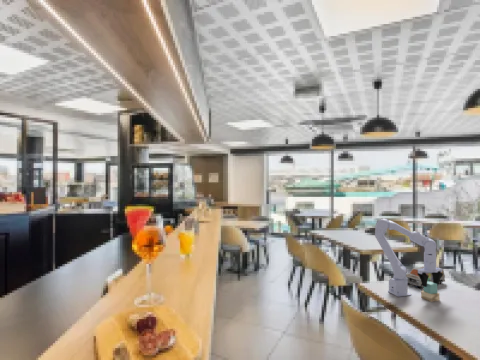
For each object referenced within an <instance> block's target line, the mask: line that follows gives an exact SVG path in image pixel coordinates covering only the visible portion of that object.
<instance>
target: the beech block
mask: <svg viewBox="0 0 480 360" xmlns="http://www.w3.org/2000/svg"><path fill="white" fill-rule="evenodd" d="M420 295H421V296H420V297H421V298H422V299H424V300H425V301H429V302H431V303H432V302H434V303H435V302H438V301H440V299H441V297H440V293H439V292H437V293H435V294H430V293H427V292H425V291H424V290H421V294H420Z"/></svg>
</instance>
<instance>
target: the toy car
mask: <svg viewBox="0 0 480 360" xmlns="http://www.w3.org/2000/svg"><path fill="white" fill-rule="evenodd" d="M422 268H424V265H423V266H417V267H414V268H412V269H411V271H410V272H409V273H406V277H407V278H408V285H413V286H417V287H419V289H420V288H421V289H422V290H424V289H423V288H424V286H422V282H421V279H420V277H419V275H418V269H422ZM436 268H439V267H437V266H436ZM441 269H442V272H441V273H443V276H442V277H441V278H440V281H439V284H438V286H441V285H442V283H445V282H446V279H445V278H446V275H445V271H444V269H443V268H441ZM426 275H429V277H428V280H427V282H429V281H430V282H433V276H432V273H426Z"/></svg>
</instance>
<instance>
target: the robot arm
mask: <svg viewBox="0 0 480 360" xmlns="http://www.w3.org/2000/svg"><path fill="white" fill-rule="evenodd" d="M374 227H375V228H374V229H375V230H374V238H376V241H377V243H378V244H379V246H380V247H381V250H382V252H383V253H384V254H385V256H386V258H387V260H388V262H389V264H390V266H391V269H392V271H393V272H392V273H393V277H391V278H390V279H389V280H388V290H387V292H388V293H390V294H391V295H394V296H395V297H406V296H407V297H408V296H412V294H411V293H410V292H408V285H409V284H408V278H407V277H406V275H407V274H408V273H407V272H408V270H407V267H406V266H405V265H403V264H402V262H401V261H400V260H399V258H398V257H397V255H396V252H395V251H394V250H393V248H392V246H391V245H390V242H389V241H388V240H387V237H386V236H385V234H386V232H387V230H388V231H389V230H390V231H392V230H394V231H396V232H398V233H401V234H402V235H405V236H406V237H408V238H409V240H410V241H411V242H413V243H415V244H417V245H418V246H421V247H423V248H424V252H423V266H424V268H422V269H418V275H419V277H420V279H421V282H422V286H424V287H427V280H428V277H429V275H426V273H432V276H433V283H436V284H437V287H438V286H439V285H438V284H439V281H440V278H441V277H442V276H443V273H441V272H442V269H443V268H440V267H438V268H436V267H437V250H436V249H438V248H437V242H436V241H435V240H433V238H430V237H428V236H425V235H424V234H422V233H421V232H420V231H415V230H414V231H411V230H409V229H407V228H405V227H404V226H401V225H400V224H398V223H397V222H395V221H393V220H390V219H388V218H386V217H384V218H383V217H382V218H381V219H379V220H378V221H376V224H375V226H374Z"/></svg>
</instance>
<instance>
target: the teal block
mask: <svg viewBox="0 0 480 360" xmlns="http://www.w3.org/2000/svg"><path fill="white" fill-rule="evenodd" d="M423 291H425V292H427V293H430V294H435V293H438V286H437V284H436V283H433V282H430V281H429V282H427V287H424V289H423Z"/></svg>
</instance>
